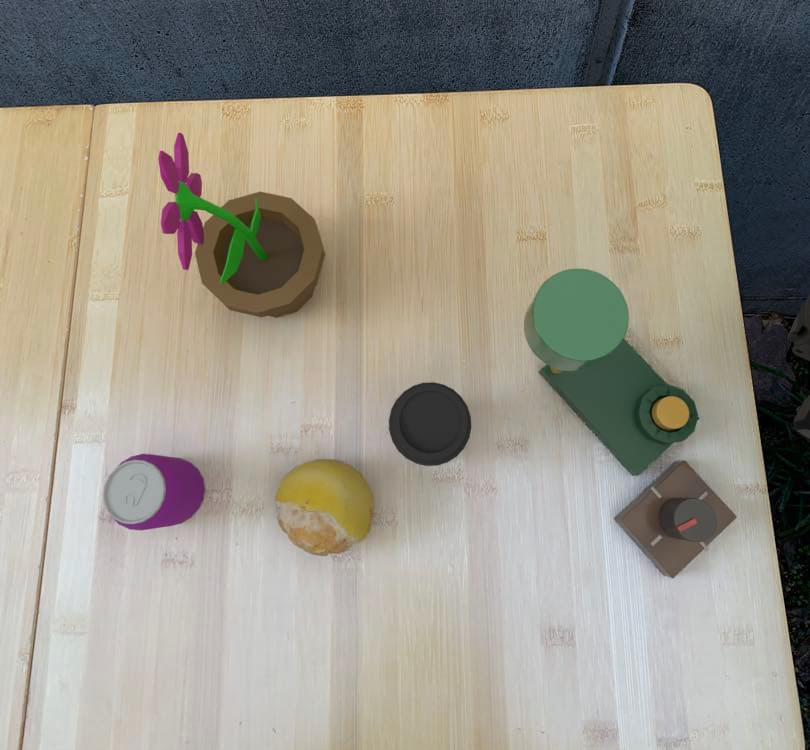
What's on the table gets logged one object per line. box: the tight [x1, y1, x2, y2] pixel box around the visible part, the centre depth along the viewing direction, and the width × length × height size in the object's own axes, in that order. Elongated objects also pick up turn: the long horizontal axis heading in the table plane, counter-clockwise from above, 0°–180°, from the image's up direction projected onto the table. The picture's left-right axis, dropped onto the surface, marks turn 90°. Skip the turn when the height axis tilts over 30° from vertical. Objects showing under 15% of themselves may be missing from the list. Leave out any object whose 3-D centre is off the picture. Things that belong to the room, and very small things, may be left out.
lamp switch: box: [652, 396, 689, 430], centre depth 76 cm, size 4×4×2 cm
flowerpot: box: [157, 132, 326, 318], centre depth 71 cm, size 14×14×30 cm
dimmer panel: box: [613, 460, 738, 579], centre depth 76 cm, size 9×10×3 cm
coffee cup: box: [388, 381, 473, 467], centre depth 73 cm, size 8×8×15 cm
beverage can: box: [102, 453, 206, 531], centre depth 74 cm, size 8×8×12 cm
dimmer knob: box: [659, 498, 717, 542], centre depth 73 cm, size 4×4×5 cm
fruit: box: [274, 458, 376, 557], centre depth 74 cm, size 10×11×10 cm
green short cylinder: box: [523, 268, 630, 371], centre depth 59 cm, size 8×8×5 cm
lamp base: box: [538, 337, 700, 477], centre depth 79 cm, size 16×10×4 cm, turn 40°
